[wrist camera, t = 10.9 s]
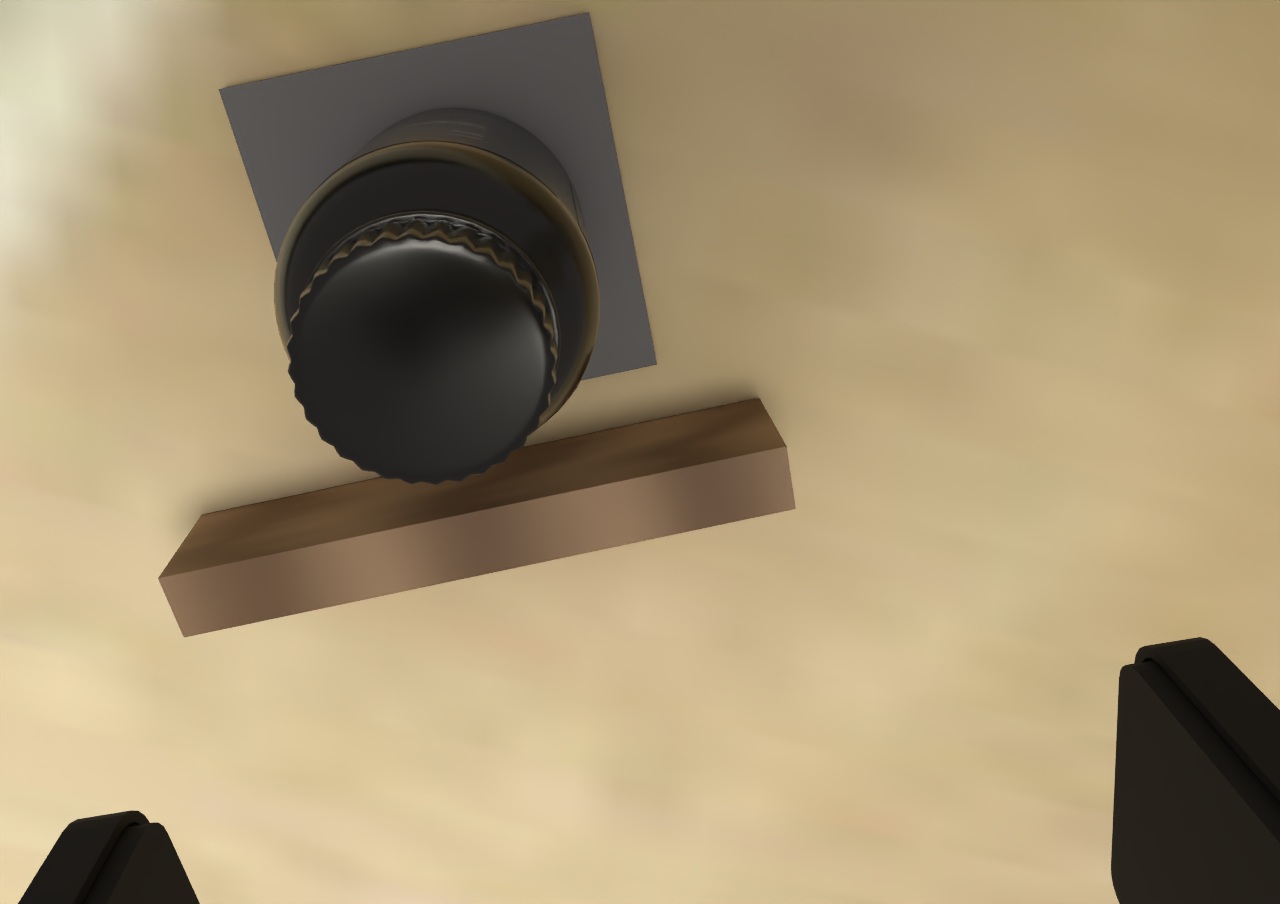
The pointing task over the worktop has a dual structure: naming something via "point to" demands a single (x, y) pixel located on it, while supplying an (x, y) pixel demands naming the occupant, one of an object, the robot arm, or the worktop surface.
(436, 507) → the walnut rail
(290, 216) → the pad
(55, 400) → the worktop surface
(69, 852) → the robot arm
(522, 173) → the supplement bottle
